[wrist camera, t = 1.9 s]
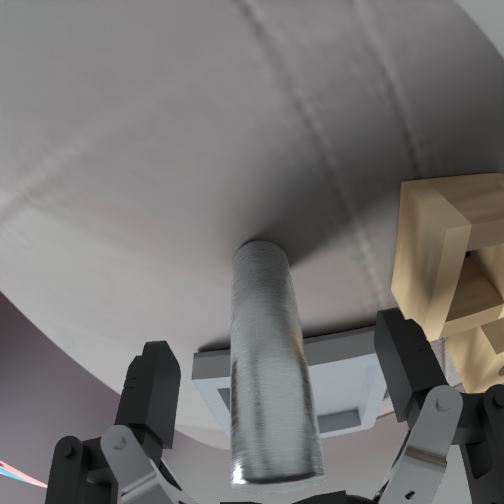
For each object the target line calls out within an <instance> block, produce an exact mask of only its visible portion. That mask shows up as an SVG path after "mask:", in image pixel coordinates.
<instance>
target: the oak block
mask: <svg viewBox="0 0 504 504" xmlns="http://www.w3.org/2000/svg"><path fill="white" fill-rule="evenodd" d="M467 251H471V253H470V257H467V258H464V257H465V253H466V252H467ZM391 291H392V293H393V295H394V297H395V299H396V301H397V303H398V305H399V307H400V309H401V311H402V313H403V315H404V317H405V319H406V320H407V319H411V318H412V319H413V320H414V321H415V322H417V323H418V324H419V325H420V326H421V327H422V329H423V331H424V333H425V335H426V337H427V340H428V341H429V342H430V341H433V340H437V339H440V338H444V337H447V336H450V335H453V334H457V333H460V332H463V331H466V330H469V329H472V328H475V327H478V326H481V325H484V324H486V323H489V322H492V321H495V320H498V319H500V318H503V317H504V174H502V173H489V174H476V175H464V176H452V177H442V178H431V179H421V180H412V181H403V182H401V195H400V211H399V224H398V236H397V246H396V255H395V263H394V271H393V279H392V286H391Z"/></svg>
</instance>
